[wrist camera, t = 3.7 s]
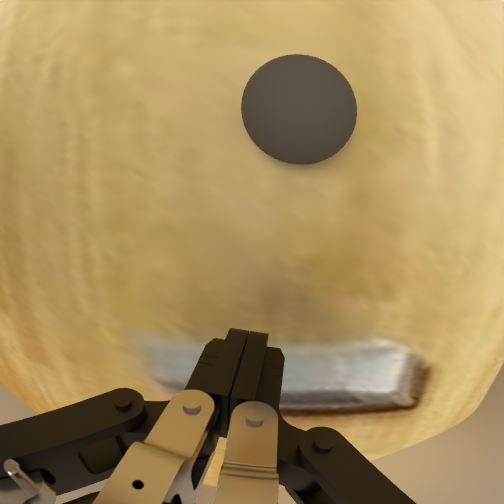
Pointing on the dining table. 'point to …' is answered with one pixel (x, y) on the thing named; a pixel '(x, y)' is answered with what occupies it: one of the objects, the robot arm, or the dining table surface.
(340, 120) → the dark grey ball
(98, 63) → the dining table surface
